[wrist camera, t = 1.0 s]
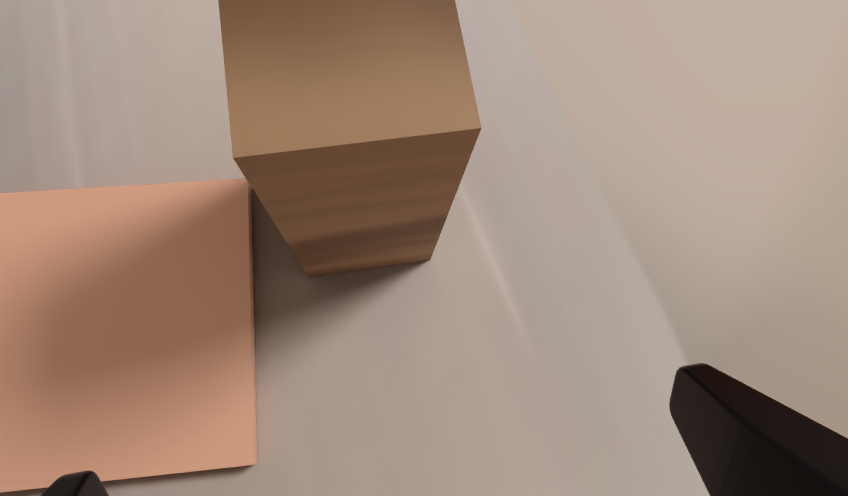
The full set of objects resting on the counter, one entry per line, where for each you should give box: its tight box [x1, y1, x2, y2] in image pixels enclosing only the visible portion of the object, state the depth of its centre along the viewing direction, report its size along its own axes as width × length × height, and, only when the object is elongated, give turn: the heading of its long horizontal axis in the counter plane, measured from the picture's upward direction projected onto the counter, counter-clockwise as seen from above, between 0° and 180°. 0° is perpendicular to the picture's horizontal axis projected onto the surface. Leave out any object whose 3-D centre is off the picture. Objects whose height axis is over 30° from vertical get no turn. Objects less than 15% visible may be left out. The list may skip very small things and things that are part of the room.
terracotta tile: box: [0, 179, 257, 492], centre depth 21 cm, size 11×11×1 cm
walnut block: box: [219, 0, 481, 277], centre depth 18 cm, size 5×5×12 cm
